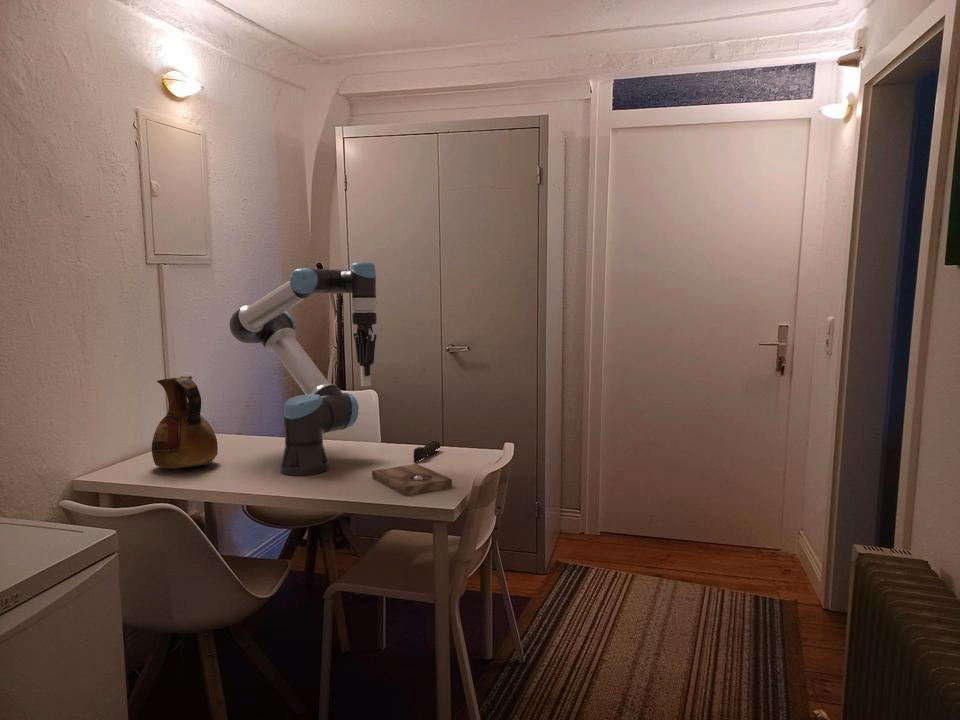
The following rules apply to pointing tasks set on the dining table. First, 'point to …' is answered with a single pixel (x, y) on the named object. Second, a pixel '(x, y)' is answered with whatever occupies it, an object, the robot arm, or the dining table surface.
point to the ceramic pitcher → (183, 428)
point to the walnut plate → (411, 479)
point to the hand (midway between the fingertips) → (365, 385)
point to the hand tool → (425, 450)
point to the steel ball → (418, 477)
